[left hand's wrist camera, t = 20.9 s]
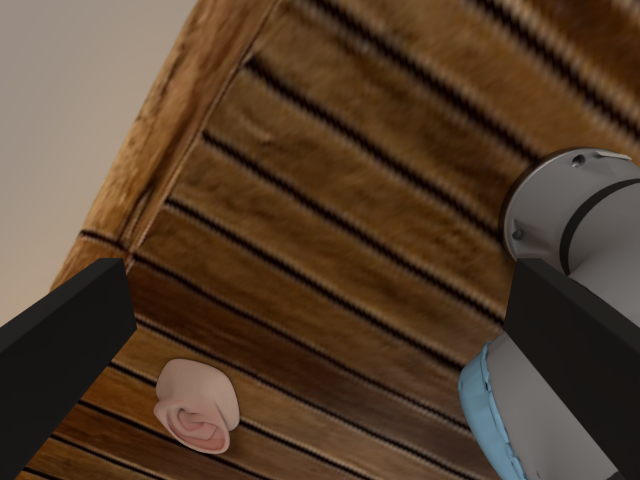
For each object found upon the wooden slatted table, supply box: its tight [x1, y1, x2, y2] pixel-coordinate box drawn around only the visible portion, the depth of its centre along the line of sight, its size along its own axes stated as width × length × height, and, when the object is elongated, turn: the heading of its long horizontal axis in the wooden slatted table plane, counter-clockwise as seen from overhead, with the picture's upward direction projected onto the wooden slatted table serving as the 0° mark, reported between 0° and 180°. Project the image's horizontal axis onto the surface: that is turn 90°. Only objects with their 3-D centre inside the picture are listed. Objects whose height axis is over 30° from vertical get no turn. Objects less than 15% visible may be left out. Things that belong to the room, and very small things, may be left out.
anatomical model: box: [154, 359, 239, 454], centre depth 50 cm, size 13×4×12 cm
